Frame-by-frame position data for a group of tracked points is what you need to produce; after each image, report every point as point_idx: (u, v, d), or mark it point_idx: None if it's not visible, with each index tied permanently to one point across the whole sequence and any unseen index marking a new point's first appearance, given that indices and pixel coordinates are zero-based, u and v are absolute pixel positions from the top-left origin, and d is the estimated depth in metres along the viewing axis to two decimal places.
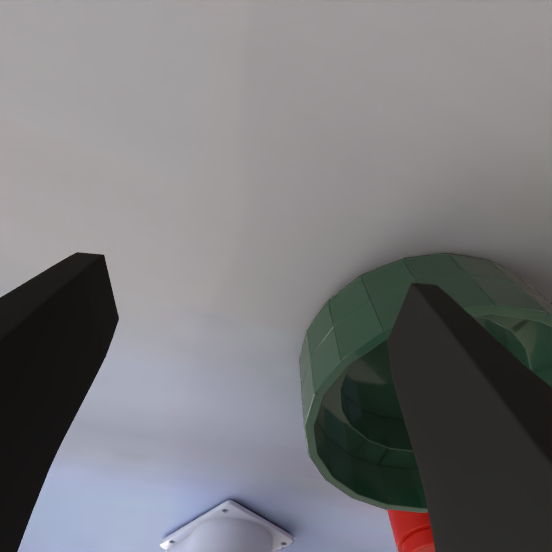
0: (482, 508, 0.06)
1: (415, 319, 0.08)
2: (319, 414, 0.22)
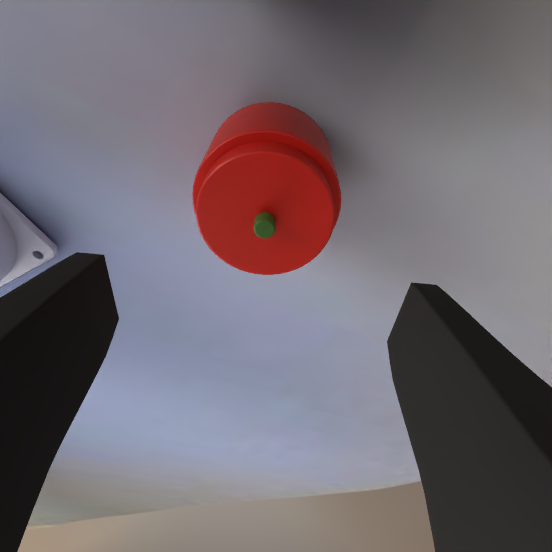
0: (482, 508, 0.06)
1: (415, 319, 0.08)
2: None
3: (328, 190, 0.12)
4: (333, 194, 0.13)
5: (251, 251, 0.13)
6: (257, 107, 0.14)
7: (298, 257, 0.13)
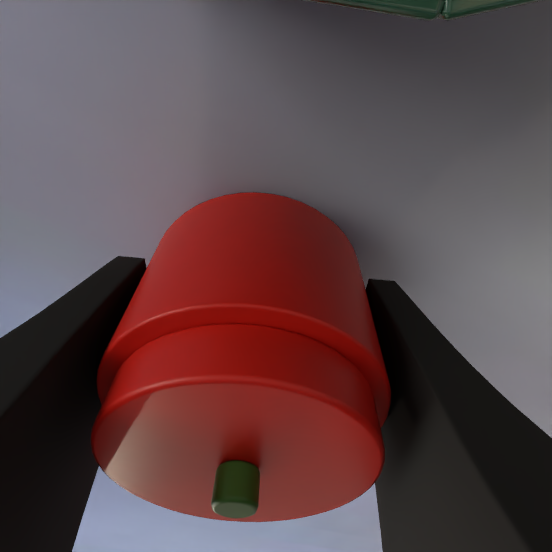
0: (418, 504, 0.06)
1: None
2: None
3: (375, 434, 0.05)
4: (377, 399, 0.06)
5: None
6: (229, 207, 0.07)
7: (306, 507, 0.07)
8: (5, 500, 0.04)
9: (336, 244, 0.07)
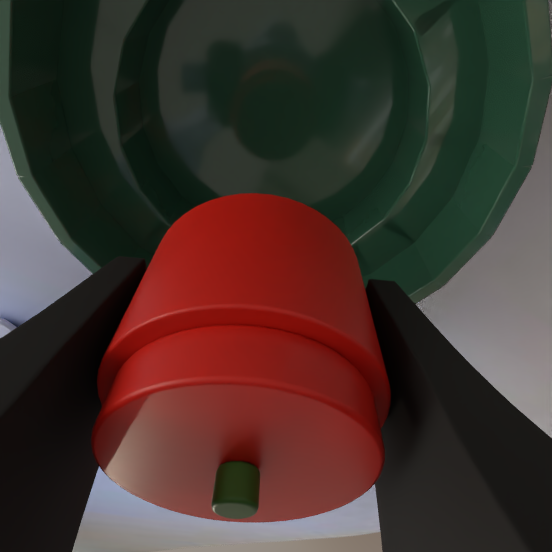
0: (418, 504, 0.06)
1: None
2: (81, 147, 0.13)
3: (375, 435, 0.05)
4: (377, 400, 0.06)
5: None
6: (229, 208, 0.07)
7: (306, 508, 0.07)
8: (5, 500, 0.04)
9: (336, 245, 0.08)
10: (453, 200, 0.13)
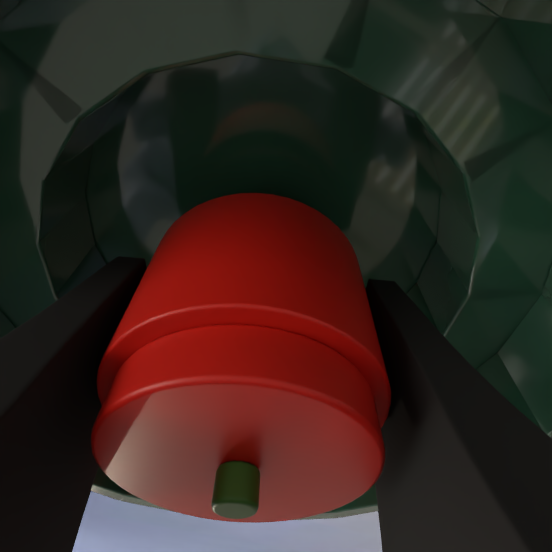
0: (418, 504, 0.06)
1: None
2: (2, 295, 0.09)
3: (375, 434, 0.05)
4: (377, 400, 0.06)
5: None
6: (229, 208, 0.07)
7: (306, 508, 0.07)
8: (5, 500, 0.04)
9: (336, 244, 0.07)
10: (500, 358, 0.10)
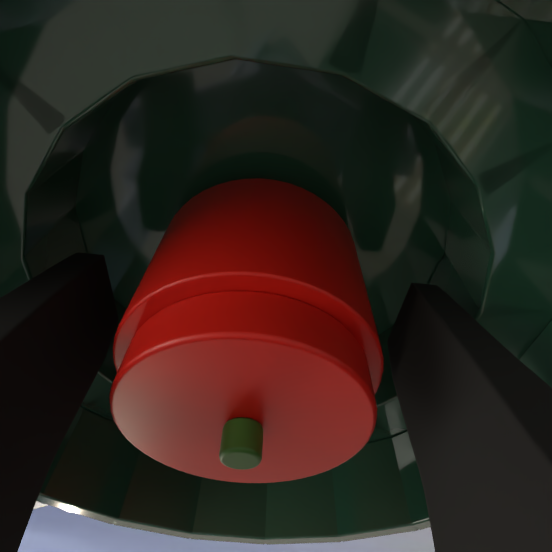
0: (482, 508, 0.06)
1: (415, 319, 0.08)
2: None
3: (367, 390, 0.06)
4: (370, 365, 0.07)
5: None
6: (234, 191, 0.08)
7: (305, 467, 0.07)
8: None
9: (333, 226, 0.08)
10: None
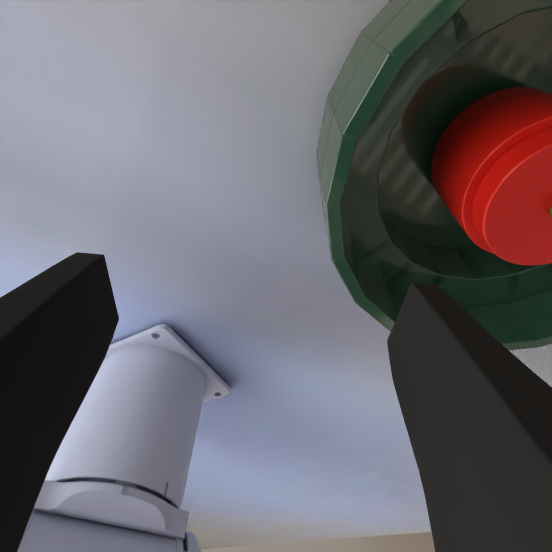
0: (482, 508, 0.06)
1: (415, 319, 0.08)
2: None
3: None
4: None
5: (528, 240, 0.12)
6: (518, 91, 0.13)
7: None
8: None
9: None
10: None
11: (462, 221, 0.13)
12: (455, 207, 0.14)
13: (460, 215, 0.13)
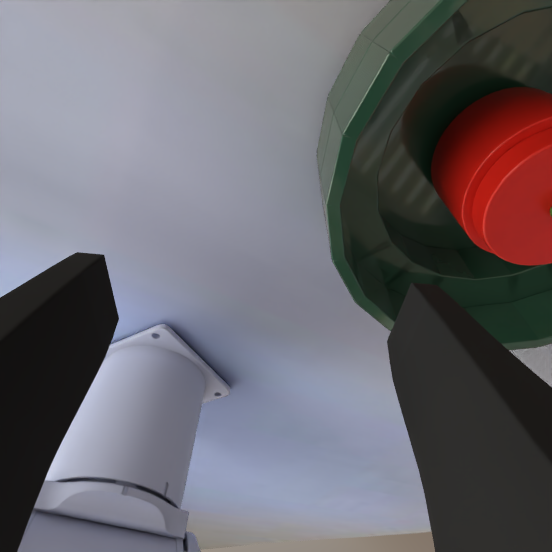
0: (482, 508, 0.06)
1: (415, 319, 0.08)
2: None
3: None
4: None
5: (528, 240, 0.12)
6: (518, 91, 0.13)
7: None
8: None
9: None
10: None
11: (462, 221, 0.13)
12: (455, 207, 0.14)
13: (460, 215, 0.13)
